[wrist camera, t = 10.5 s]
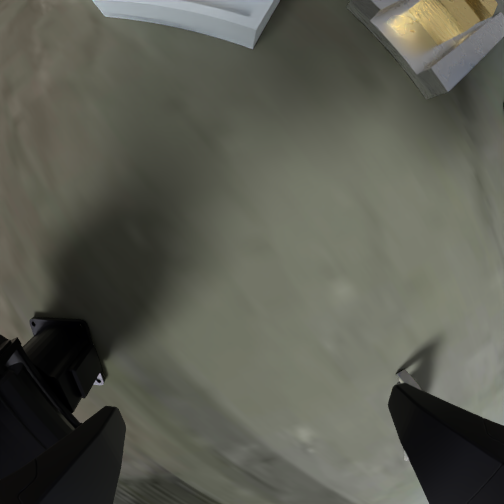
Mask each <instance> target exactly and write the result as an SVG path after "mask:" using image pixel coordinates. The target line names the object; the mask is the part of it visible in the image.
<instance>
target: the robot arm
mask: <svg viewBox="0 0 504 504" xmlns="http://www.w3.org/2000/svg"><path fill="white" fill-rule="evenodd" d="M34 322H35V323H34ZM80 324H81V325H82V326H83V327H81V325H80ZM30 325H31V329H32V332H33V334H34V337H33V338H31V339H30V340H29V341H28V342H27V343H26V344H25V345H24V346H23V347H22V346H21V342H20V341H19V339H18V337H17V338H15V339H13V340H8V339H6V338H5V337H3V336H2V335H0V504H113V501H114V496H115V492H116V487H117V483H118V478H119V474H120V470H121V464H122V456H123V447H124V440H125V432H126V426H125V422H124V420H123V418H122V416H121V413H120V411H119V409H118V408H117V407H112V406H105V407H104V408H102V409H101V410H100V411H98V412H97V413H96V414H94V415H93V416H92V417H90V418H89V419H88V420H86V421H85V422H84V423H80V422H79V421H78V420H77V419H76V418H75V417H74V416H73V414H72V413H73V412H74V410H75V409H76V407H77V405H78V403H79V402H80V400H81V398H85V397H86V396H87V394H88V393H89V391H90V389H91V387H92V386H93V384H95V385H103V384H104V382H105V378H104V375H103V372H102V367H101V364H100V361H99V358H98V355H97V352H96V349H95V346H94V345H93V342H92V339H91V335H90V332H89V328H88V325H87V323H86V322H85V321H84V320H81V319H59V318H41V317H33V318H32V319H30ZM99 379H100V380H99ZM388 407H389V411H390V413H391V416H392V419H393V422H394V425H395V427H396V430H397V433H398V436H399V439H400V442H401V444H402V446H403V448H404V450H405V452H406V454H407V456H408V458H409V461H410V463H411V465H412V467H413V469H414V471H415V473H416V475H417V478H418V480H419V482H420V484H421V486H422V488H423V491H424V493H425V495H426V497H427V500H428V502H429V504H504V426H503V425H500V424H498V423H495V422H492V421H490V420H488V419H485V418H482V417H480V416H478V415H476V414H473V413H471V412H469V411H466V410H464V409H462V408H460V407H457V406H455V405H453V404H451V403H448V402H446V401H444V400H442V399H440V398H437V397H435V396H433V395H431V394H429V393H427V392H424V391H422V390H420V389H418V388H416V387H414V386H412V385H410V384H408V383H400V384H396V385H394V387H393V389H392V392H391V395H390V398H389V402H388Z"/></svg>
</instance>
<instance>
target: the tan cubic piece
mask: <svg viewBox="0 0 504 504" xmlns="http://www.w3.org/2000/svg"><path fill="white" fill-rule="evenodd" d="M408 11H409V12H410V13H411V14H412V15H413V16H414V17H415V19H416V20H417V21H418V22H419V23H420V24H421V25H422V27H423V28H424V29H425V30H426V31H427V32H428V34H429V35H430V36H431V37H432V39H433V40H434V41H435V42H436V44H437V45H440V44H442V43H443V42H445V41H447V40H449V39H451V38H453V37H455V36H457V35H459V34H461V33H463V32H465V31H467V30H468V29H469V28H471V27H472V26H474V25H475V24H476V23H478V22H479V21H480V19H479V18H478V17H477V16H476V14H475V13H474V12H473V10H472V9H471V8H470V7H469V5H468V4H467V3H466V2H465V1H464V0H420V1H419V2H418V3H416V4H415V5H414V6H413V7H411V8H410V9H409V10H408Z"/></svg>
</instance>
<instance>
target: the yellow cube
mask: <svg viewBox="0 0 504 504" xmlns="http://www.w3.org/2000/svg"><path fill="white" fill-rule="evenodd" d="M464 1H465V2H466V3H467V4H468V5H469V7H470V8H471V9H472V10H473V12H474V13H475V14H476V16H477V17H478V18H479V19H480V21H479V22H481V21H483V20H485V19H488V18H490V17H492V16H493V14H494V12H495V9H496V7H497V4H498V3H497V2H496V1H495V0H464ZM479 22H478V23H479ZM476 24H477V23H476Z"/></svg>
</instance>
